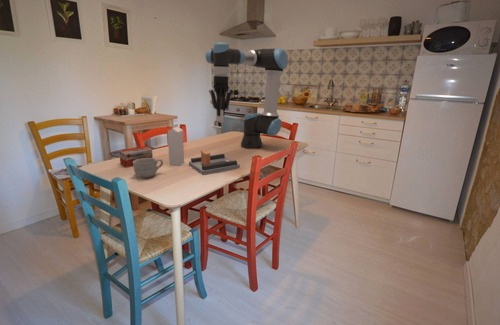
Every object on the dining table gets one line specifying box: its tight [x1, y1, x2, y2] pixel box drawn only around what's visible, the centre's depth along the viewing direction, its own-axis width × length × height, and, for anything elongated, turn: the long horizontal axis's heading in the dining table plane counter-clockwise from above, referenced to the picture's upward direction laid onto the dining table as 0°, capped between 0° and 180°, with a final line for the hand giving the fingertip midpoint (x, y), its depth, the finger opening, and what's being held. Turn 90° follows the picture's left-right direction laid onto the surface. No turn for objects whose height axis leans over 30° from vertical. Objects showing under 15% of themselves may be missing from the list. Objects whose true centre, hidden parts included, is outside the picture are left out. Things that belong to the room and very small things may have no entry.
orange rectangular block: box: [200, 150, 211, 165], centre depth 151 cm, size 3×6×7 cm, turn 34°
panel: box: [188, 156, 241, 176], centre depth 155 cm, size 22×18×2 cm
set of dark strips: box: [190, 153, 238, 170], centre depth 154 cm, size 20×16×2 cm
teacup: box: [133, 157, 164, 179], centre depth 138 cm, size 14×11×8 cm
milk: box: [167, 123, 185, 167], centre depth 154 cm, size 6×6×22 cm
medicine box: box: [119, 145, 154, 168], centre depth 155 cm, size 15×8×8 cm, turn 133°
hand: (220, 122), depth 150 cm, fingers closed
